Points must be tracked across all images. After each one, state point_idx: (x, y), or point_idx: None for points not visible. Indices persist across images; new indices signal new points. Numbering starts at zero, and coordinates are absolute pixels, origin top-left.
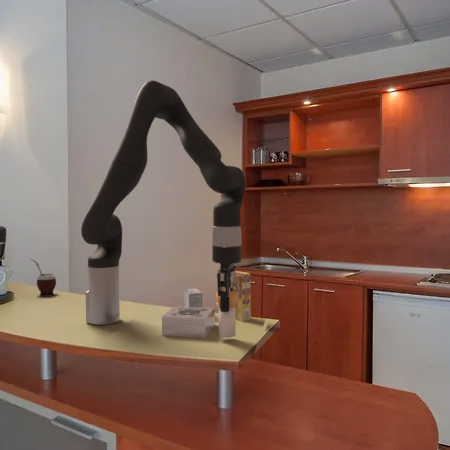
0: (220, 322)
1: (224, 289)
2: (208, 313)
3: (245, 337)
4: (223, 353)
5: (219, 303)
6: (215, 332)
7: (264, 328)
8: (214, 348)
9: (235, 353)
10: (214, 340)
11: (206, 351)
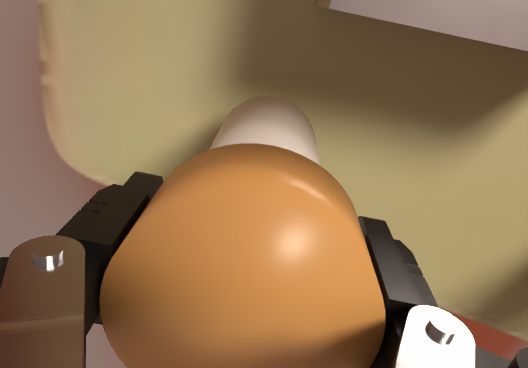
0: (223, 132)
1: (431, 315)
2: (509, 33)
3: (363, 216)
4: (133, 106)
5: (161, 188)
6: (481, 66)
7: (487, 305)
8: (199, 61)
9: (140, 160)
10: (330, 60)
11: (150, 17)
